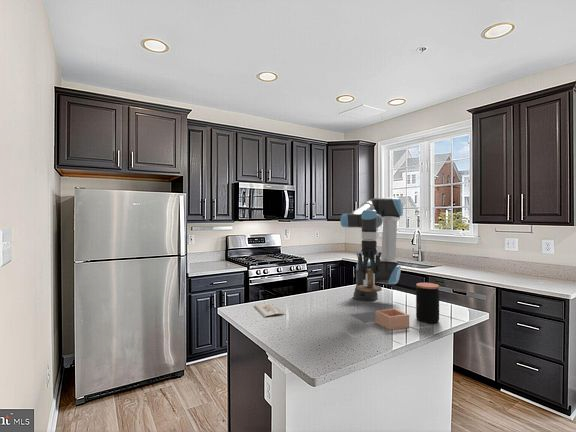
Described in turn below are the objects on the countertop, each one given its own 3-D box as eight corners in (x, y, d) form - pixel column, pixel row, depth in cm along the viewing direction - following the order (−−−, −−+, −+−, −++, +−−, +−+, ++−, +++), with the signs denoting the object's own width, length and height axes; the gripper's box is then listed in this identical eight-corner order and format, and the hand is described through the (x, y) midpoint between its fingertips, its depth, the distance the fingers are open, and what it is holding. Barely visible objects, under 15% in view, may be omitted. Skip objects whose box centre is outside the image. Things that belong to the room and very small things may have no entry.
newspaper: (286, 316, 176) (286, 311, 176) (264, 321, 172) (264, 316, 172) (273, 305, 198) (273, 300, 198) (253, 309, 194) (253, 304, 194)
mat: (372, 312, 181) (372, 311, 181) (388, 320, 167) (388, 319, 167) (349, 315, 176) (349, 314, 176) (364, 323, 163) (364, 322, 163)
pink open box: (394, 320, 167) (394, 308, 167) (409, 327, 156) (409, 314, 156) (375, 323, 163) (375, 310, 163) (389, 330, 153) (389, 317, 153)
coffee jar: (421, 316, 174) (421, 281, 174) (442, 320, 167) (442, 284, 167) (412, 320, 167) (412, 284, 167) (433, 325, 159) (434, 288, 159)
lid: (372, 285, 179) (372, 267, 179) (386, 290, 168) (386, 270, 168) (352, 287, 175) (352, 268, 175) (365, 292, 164) (365, 272, 164)
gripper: (378, 239, 178) (378, 283, 178) (351, 239, 172) (351, 285, 172) (387, 240, 171) (387, 286, 171) (358, 241, 165) (358, 288, 165)
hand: (369, 285), depth 171 cm, fingers closed on lid, 4 cm apart
